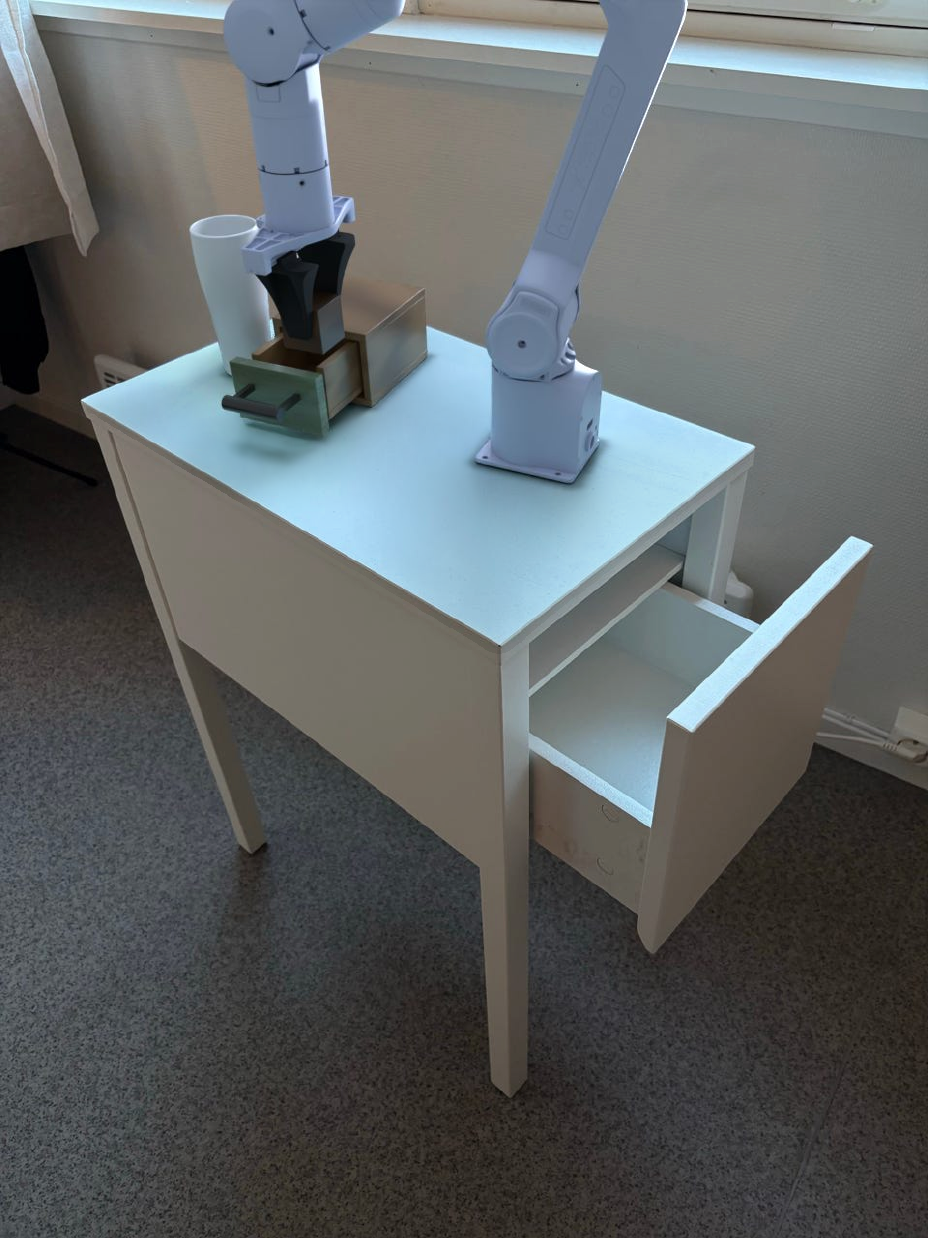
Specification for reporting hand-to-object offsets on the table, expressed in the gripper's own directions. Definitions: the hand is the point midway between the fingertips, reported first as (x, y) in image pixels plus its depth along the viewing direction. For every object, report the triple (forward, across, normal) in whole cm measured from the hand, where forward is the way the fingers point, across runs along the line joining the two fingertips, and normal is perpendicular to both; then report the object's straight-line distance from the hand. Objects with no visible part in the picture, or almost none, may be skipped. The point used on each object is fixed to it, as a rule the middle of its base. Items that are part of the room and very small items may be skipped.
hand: (313, 327), depth 83 cm
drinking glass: (+10, -7, -14) cm, 19 cm away
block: (+1, 0, 0) cm, 1 cm away
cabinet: (+10, -11, -3) cm, 15 cm away
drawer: (+9, 0, -3) cm, 9 cm away
